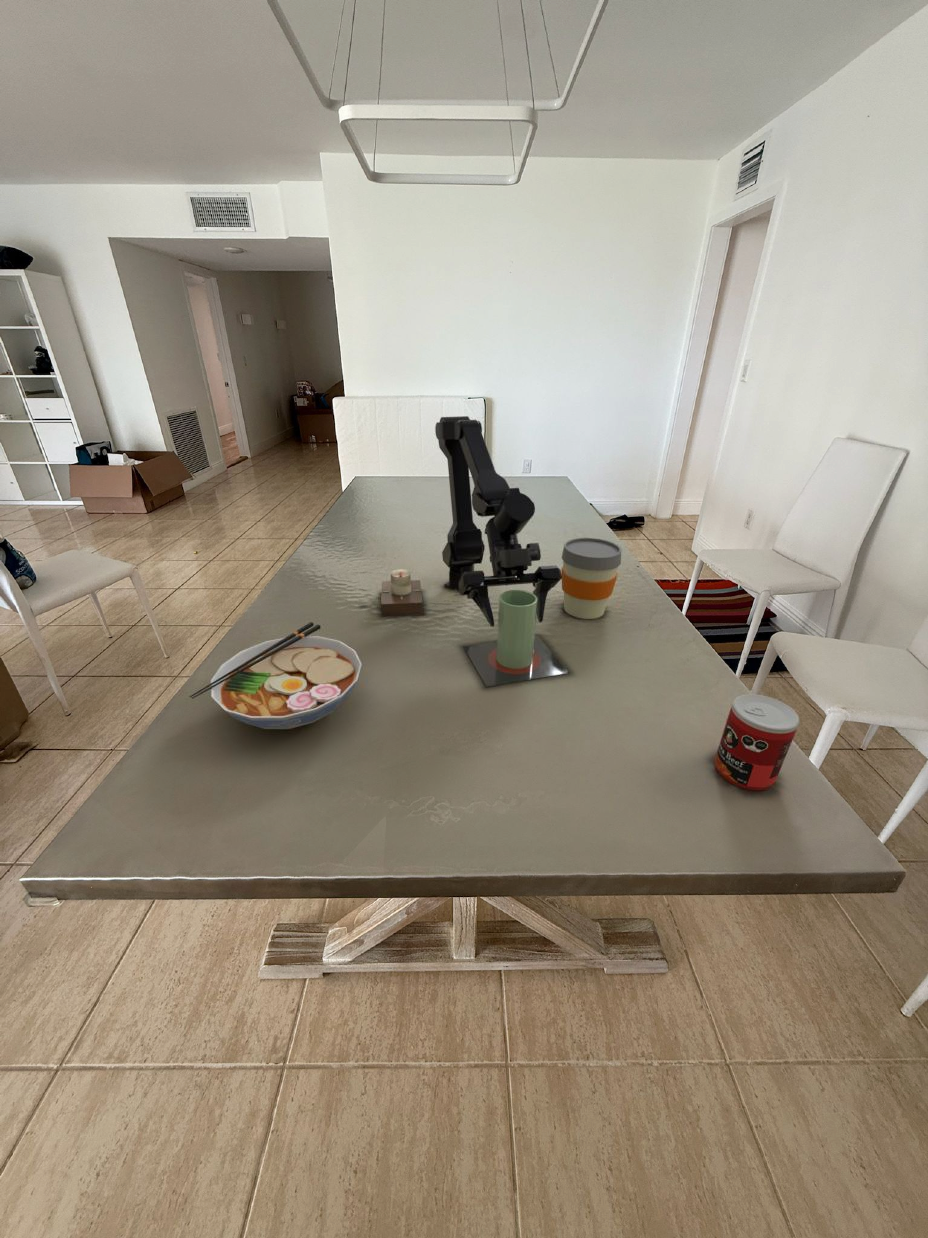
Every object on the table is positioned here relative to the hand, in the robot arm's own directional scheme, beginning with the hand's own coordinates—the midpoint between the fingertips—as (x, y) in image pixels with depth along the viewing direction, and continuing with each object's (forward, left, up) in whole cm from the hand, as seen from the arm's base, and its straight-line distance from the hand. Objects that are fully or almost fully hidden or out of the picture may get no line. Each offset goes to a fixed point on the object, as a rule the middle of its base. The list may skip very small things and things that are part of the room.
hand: (517, 623), depth 95 cm
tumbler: (0, 0, -8) cm, 8 cm away
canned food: (+7, +41, -8) cm, 42 cm away
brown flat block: (-7, -33, -8) cm, 35 cm away
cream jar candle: (-7, -33, -5) cm, 34 cm away
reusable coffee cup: (-28, +3, -8) cm, 29 cm away
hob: (0, 0, -8) cm, 8 cm away
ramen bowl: (+33, -23, -8) cm, 41 cm away
